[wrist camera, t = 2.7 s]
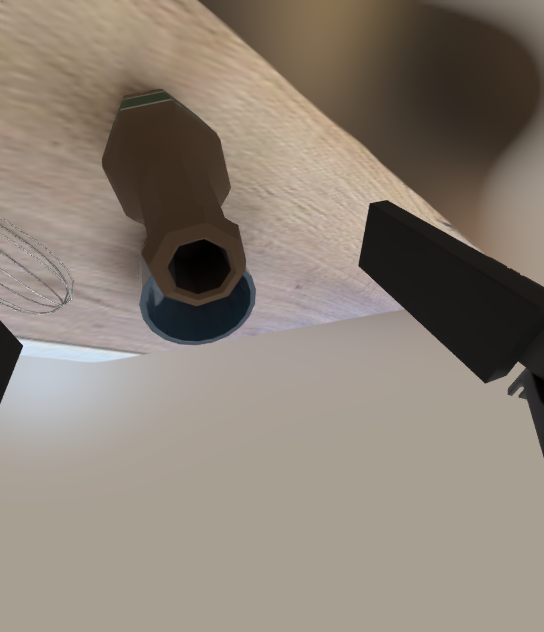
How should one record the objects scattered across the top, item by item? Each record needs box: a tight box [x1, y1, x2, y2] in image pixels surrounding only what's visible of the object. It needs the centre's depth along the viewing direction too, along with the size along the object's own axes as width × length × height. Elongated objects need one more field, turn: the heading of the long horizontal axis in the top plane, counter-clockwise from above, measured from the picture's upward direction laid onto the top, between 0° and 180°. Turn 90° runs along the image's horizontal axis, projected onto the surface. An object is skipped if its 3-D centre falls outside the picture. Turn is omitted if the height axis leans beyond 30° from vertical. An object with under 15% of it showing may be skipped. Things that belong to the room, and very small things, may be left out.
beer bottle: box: [102, 89, 246, 306], centre depth 19 cm, size 8×8×24 cm
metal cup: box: [139, 241, 256, 345], centre depth 34 cm, size 12×12×8 cm
